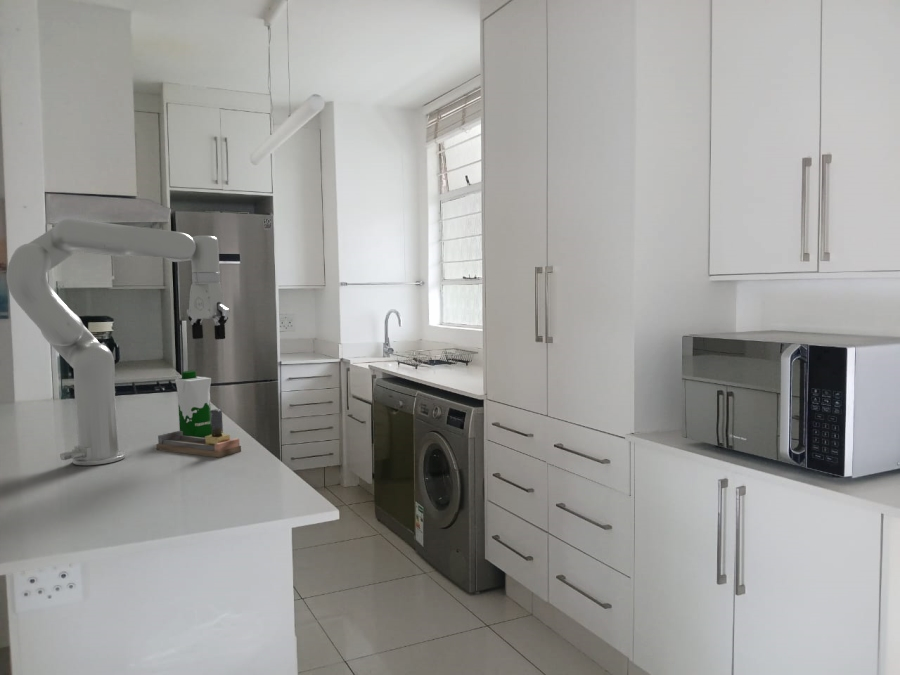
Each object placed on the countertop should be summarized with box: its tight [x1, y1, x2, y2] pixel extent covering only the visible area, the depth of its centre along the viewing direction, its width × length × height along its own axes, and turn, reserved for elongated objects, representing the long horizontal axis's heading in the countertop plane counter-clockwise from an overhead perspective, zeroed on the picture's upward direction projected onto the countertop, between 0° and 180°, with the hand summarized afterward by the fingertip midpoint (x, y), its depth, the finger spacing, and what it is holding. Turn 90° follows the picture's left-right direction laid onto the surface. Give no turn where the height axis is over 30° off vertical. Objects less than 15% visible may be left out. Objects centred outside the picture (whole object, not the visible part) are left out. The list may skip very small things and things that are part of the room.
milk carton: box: [174, 370, 212, 438], centre depth 212 cm, size 9×9×20 cm
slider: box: [204, 408, 231, 445], centre depth 189 cm, size 4×5×10 cm
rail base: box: [155, 430, 242, 458], centre depth 194 cm, size 8×25×4 cm, turn 60°
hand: (208, 338), depth 200 cm, fingers open, 9 cm apart
